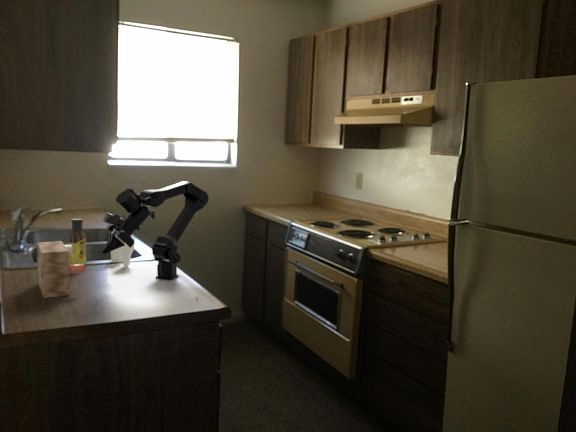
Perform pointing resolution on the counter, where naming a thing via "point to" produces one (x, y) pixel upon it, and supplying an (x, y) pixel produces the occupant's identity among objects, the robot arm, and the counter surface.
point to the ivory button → (69, 248)
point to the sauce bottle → (77, 243)
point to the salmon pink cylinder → (76, 268)
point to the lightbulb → (126, 254)
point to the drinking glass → (116, 256)
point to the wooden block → (53, 269)
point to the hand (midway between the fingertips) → (102, 253)
